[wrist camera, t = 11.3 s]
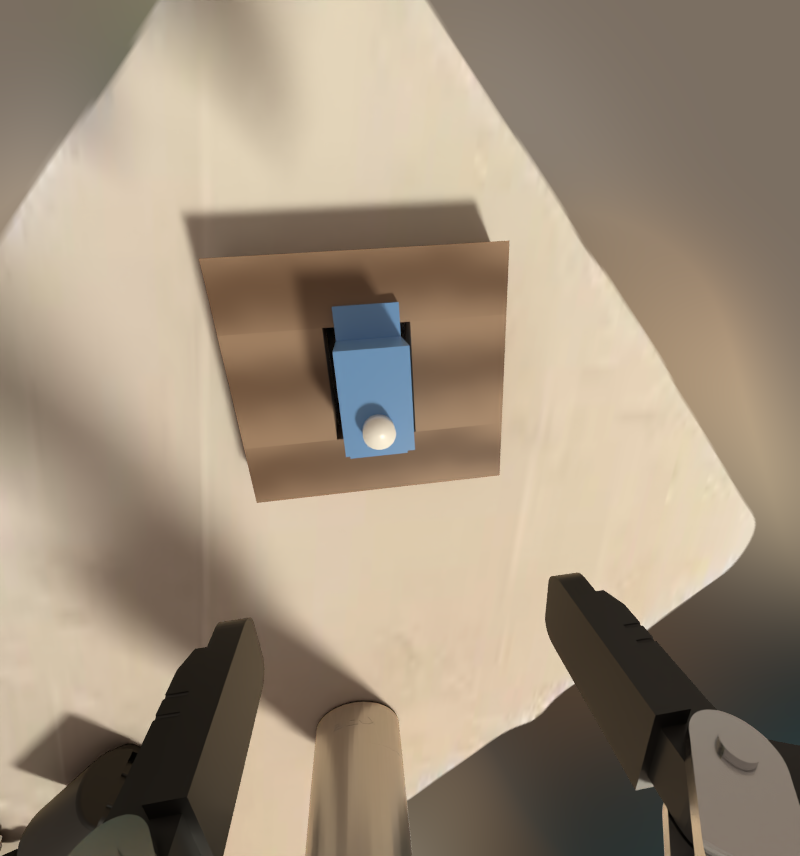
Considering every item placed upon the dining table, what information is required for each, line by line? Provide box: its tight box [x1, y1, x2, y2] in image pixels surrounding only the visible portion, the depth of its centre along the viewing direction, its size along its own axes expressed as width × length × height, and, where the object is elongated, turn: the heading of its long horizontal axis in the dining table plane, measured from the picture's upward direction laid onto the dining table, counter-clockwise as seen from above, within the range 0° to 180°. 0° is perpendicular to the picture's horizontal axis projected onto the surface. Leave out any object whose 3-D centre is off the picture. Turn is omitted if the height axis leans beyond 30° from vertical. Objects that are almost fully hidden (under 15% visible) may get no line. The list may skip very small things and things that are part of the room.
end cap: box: [17, 744, 140, 856], centre depth 36 cm, size 10×7×7 cm
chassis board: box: [199, 241, 509, 503], centre depth 26 cm, size 16×18×3 cm
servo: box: [332, 302, 415, 459], centre depth 23 cm, size 10×4×8 cm, turn 4°
